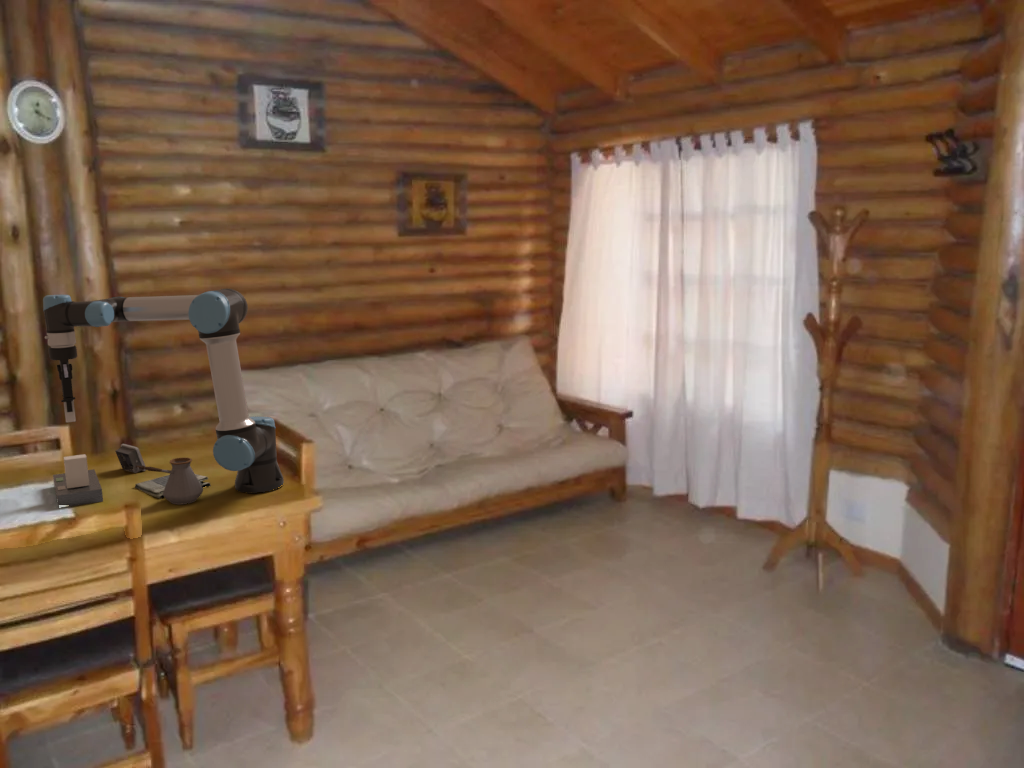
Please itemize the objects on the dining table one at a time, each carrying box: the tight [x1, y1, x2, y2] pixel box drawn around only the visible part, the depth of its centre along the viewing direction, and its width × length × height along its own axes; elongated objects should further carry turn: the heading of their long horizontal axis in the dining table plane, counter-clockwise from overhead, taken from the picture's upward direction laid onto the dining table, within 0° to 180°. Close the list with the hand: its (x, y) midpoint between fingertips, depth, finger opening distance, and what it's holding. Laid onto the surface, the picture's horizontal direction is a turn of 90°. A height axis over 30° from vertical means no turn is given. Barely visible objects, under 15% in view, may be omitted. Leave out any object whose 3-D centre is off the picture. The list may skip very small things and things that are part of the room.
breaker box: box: [52, 468, 104, 507], centre depth 257 cm, size 24×12×4 cm, turn 32°
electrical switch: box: [115, 443, 147, 474], centre depth 280 cm, size 9×5×9 cm, turn 57°
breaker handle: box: [63, 453, 89, 488], centre depth 251 cm, size 4×6×9 cm, turn 122°
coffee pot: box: [132, 457, 204, 505], centre depth 246 cm, size 21×12×15 cm, turn 149°
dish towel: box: [134, 473, 212, 500], centre depth 264 cm, size 19×18×3 cm
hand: (70, 421), depth 251 cm, fingers closed
